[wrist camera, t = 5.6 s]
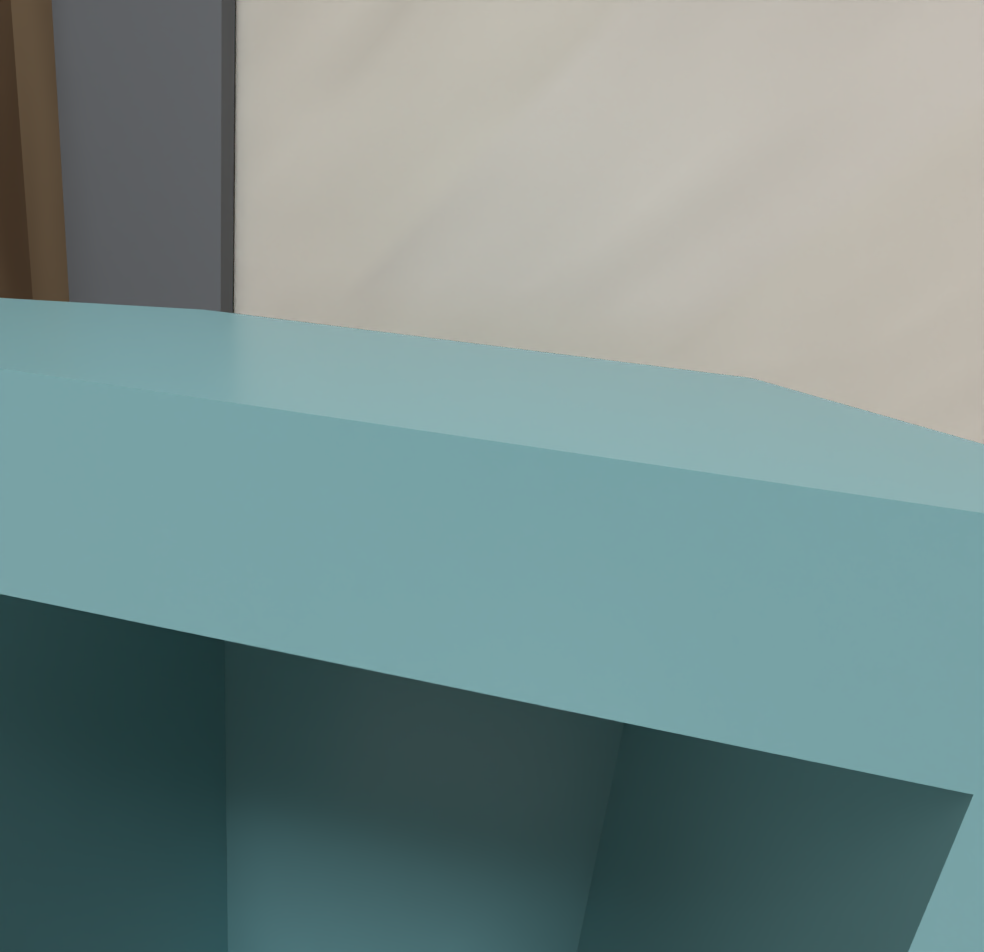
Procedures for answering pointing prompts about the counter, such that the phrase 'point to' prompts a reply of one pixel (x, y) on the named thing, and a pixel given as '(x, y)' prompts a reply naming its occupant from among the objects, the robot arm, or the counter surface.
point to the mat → (147, 150)
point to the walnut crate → (30, 157)
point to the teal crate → (473, 650)
